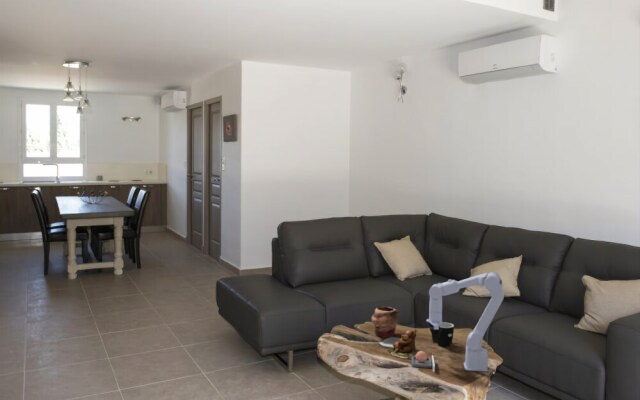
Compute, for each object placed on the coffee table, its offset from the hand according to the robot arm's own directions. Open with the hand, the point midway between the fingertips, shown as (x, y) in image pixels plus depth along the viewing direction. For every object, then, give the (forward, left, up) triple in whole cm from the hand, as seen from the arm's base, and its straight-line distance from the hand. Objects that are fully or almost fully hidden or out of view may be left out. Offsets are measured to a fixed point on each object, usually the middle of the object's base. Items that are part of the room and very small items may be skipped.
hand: (434, 339), depth 249 cm
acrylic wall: (+1, +6, -10) cm, 12 cm away
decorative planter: (+23, -35, -11) cm, 43 cm away
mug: (-7, -25, -11) cm, 28 cm away
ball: (+6, +3, -10) cm, 12 cm away
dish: (+6, +3, -10) cm, 12 cm away
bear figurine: (+13, -9, -11) cm, 19 cm away
